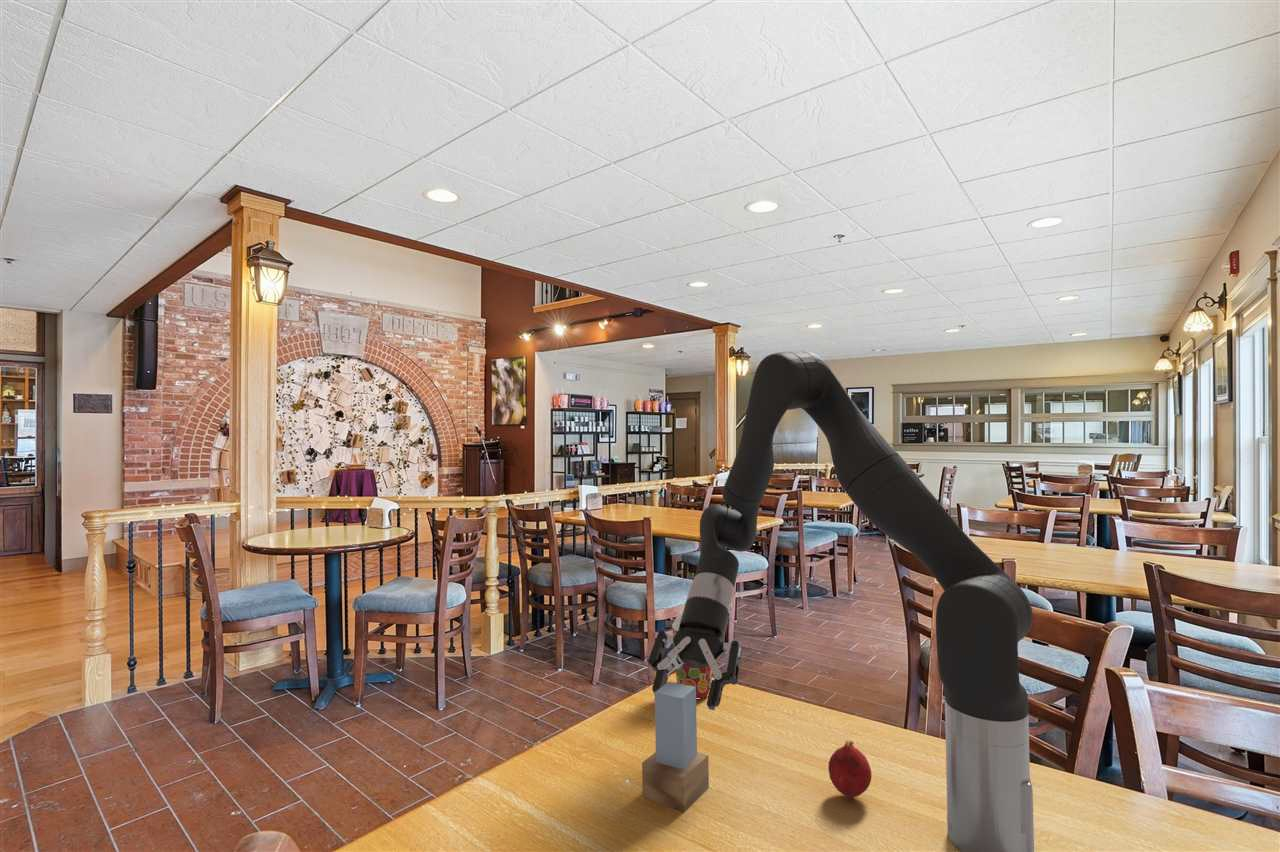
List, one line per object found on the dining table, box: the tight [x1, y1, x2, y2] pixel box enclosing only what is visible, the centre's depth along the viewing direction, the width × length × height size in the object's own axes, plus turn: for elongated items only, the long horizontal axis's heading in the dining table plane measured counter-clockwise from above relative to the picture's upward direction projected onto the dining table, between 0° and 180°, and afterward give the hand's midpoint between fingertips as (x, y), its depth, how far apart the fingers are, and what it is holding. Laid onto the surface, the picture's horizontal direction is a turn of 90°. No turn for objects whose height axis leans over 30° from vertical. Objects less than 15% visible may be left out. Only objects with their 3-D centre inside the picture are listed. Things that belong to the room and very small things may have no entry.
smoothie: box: [671, 608, 713, 699], centre depth 124 cm, size 8×8×20 cm
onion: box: [827, 739, 872, 799], centre depth 88 cm, size 6×6×8 cm
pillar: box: [654, 681, 698, 770], centre depth 90 cm, size 4×4×10 cm
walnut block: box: [641, 751, 710, 813], centre depth 90 cm, size 7×7×5 cm
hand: (683, 702), depth 93 cm, fingers open, 8 cm apart
